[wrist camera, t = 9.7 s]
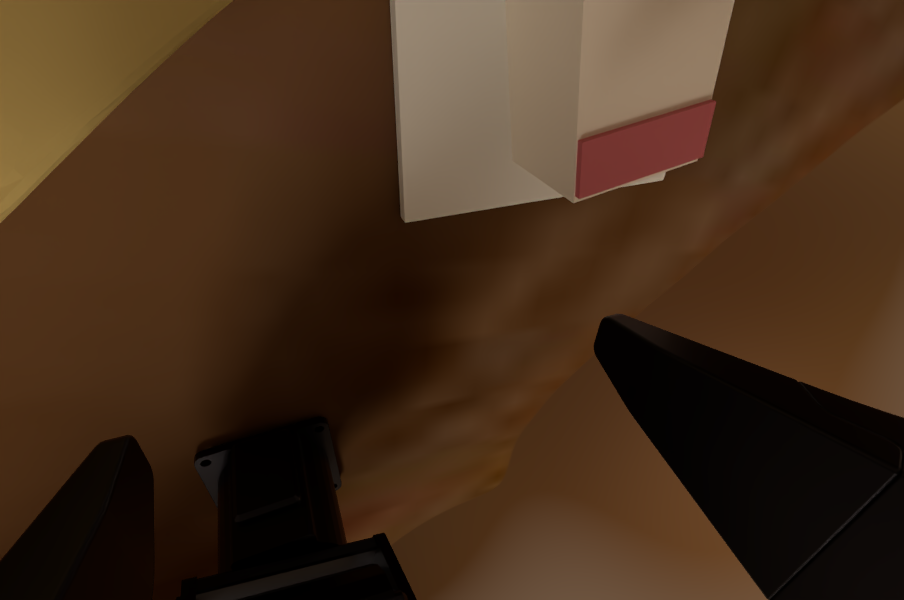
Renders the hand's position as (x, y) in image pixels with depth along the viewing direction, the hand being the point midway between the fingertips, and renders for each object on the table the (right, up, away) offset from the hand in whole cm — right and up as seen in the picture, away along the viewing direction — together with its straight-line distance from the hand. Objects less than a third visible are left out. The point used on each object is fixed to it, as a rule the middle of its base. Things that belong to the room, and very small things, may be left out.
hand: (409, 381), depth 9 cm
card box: (+5, +12, +9) cm, 15 cm away
